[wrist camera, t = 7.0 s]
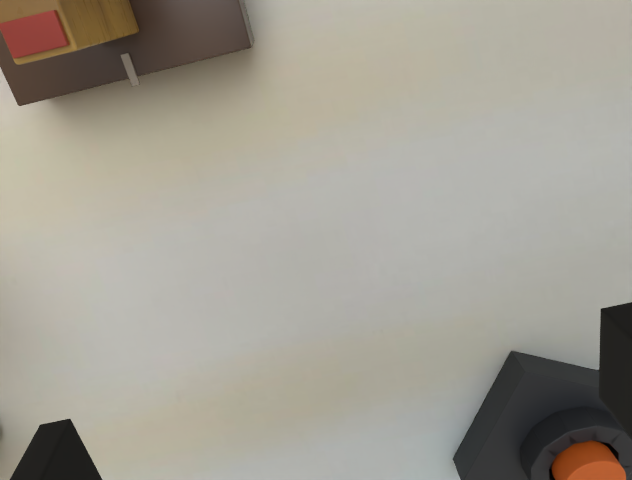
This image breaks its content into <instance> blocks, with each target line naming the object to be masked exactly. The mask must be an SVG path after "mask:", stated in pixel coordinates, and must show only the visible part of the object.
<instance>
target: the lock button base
mask: <svg viewBox="0 0 632 480" xmlns="http://www.w3.org/2000/svg"><path fill="white" fill-rule="evenodd" d="M586 441H597V442H600V443H603V444H604V445H606V446H607V447H608V448H609V449H610V451H611V452H612V453H613V455H614V456H615V458H616V459H617V460H618V462H619V463H620V465H621V466H622V467H623V469H624V471H625V473H626V480H632V438H631V437H630V436H629V435H628V433H627V432H626V431H625V429H624V428H623V427H622V426H621V424H620V423H619V422H618V421H617V419H616V418H615V417H614V416H613V414H612V413H611V412H610V411H609V409H608V408H607V407H606V405H605V404H604V403H603V402H602V400H601V399H600V398H599V371H597V370H592V369H588V368H584V367H579V366H575V365H571V364H566V363H562V362H558V361H553V360H549V359H545V358H540V357H536V356H532V355H527V354H523V353H519V352H514V351H511V353H510V354H509V356H508V358H507V360H506V362H505V364H504V365H503V367H502V369H501V371H500V373H499V375H498V377H497V378H496V380H495V382H494V384H493V386H492V388H491V390H490V391H489V393H488V395H487V397H486V399H485V401H484V403H483V404H482V406H481V408H480V410H479V412H478V414H477V415H476V417H475V419H474V421H473V423H472V425H471V427H470V428H469V430H468V432H467V434H466V436H465V438H464V440H463V441H462V443H461V445H460V447H459V449H458V451H457V452H456V454H455V456H454V458H453V460H454V463H455V466H456V468H457V471H458V474H459V477H460V479H461V480H555V478H554V477H553V475H552V470H551V469H552V463H553V461H554V459H555V458H556V456H557V455H558V454H559V453H561V452H562V451H564V450H566V449H567V448H569V447H570V446H572V445H573V444H577V443H582V442H586Z"/></svg>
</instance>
